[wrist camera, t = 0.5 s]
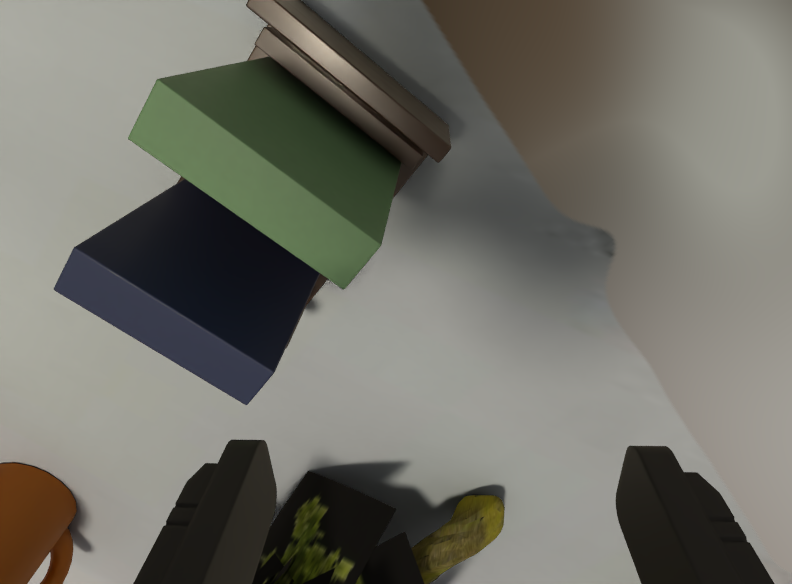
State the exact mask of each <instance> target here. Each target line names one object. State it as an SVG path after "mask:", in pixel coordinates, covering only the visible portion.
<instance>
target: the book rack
mask: <svg viewBox="0 0 792 584" xmlns="http://www.w3.org/2000/svg"><path fill="white" fill-rule="evenodd" d="M246 6H247V7H248V8H249V9H250V10H252V11H253V12H254V13H255V14H256V15H258V16H259V17H260V18H261V19H263V20H264V21H265V22H266V23H267V24H268V25H267V27H264V28H263V30H262V32H261V33H260V35H259V37H258V39H257V40H256V42H255V45H256V46H255V48H254V50H253V51H252V53H251V55H250V57H249V58H248V60H247V61H250V60H255V59H260V58H265V57H271V58H272V59H273V60H274V61H276V62H277V63H278V64H279V65H281V66H282V67H283V68H284V69H286V70H287V71H288V72H289V73H291V74H292V75H293V76H294V77H296V78H297V79H298V80H299V81H301V82H302V83H303V84H304V85H306V86H307V87H308V88H309V89H311V90H312V91H313V92H314V93H316V94H317V95H318V96H319V97H321V98H322V99H323V100H324V101H326V102H327V103H328V104H329V105H331V106H332V107H333V108H334V109H336V110H337V111H338V112H339V113H341V114H342V115H343V116H344V117H346V118H347V119H348V120H349V121H351V122H352V123H353V124H354V125H356V126H357V127H358V128H359V129H361V130H362V131H363V132H364V133H366V134H367V135H368V136H369V137H371V138H372V139H373V140H374V141H376V142H377V143H378V144H379V145H381V146H382V147H383V148H384V149H386V150H387V151H388V152H389V153H391V154H392V155H393V156H394V157H396V158H397V159H398V160H399V161H401V167H400V171H399V175H398V179H397V183H396V187H395V191H394V195H393V198H394V196H395V195H396V194H397V193H398V191H399V190H400V189H401V188H402V187H403V185H404V184H405V183H406V182H407V180H408V179H409V178H410V177H411V175H412V174H413V173H414V172H415V170H416V169H417V168H418V167H419V166H420V164H421V163H422V162H423V161H424V159H425V158H426V157H427V156H428V155H429V156H430V157H431V158H432V159H434V160H435V161H436V162H438V163H439V162H440V161H441V160H442V159H443V158H444V156H445V155H446V154H447V153H448V152H449V150H450V149H451V141H450V132H449V125H448V124H447V123H446V122H444V121H443V120H442V119H441V118H440V117H438V116H437V115H436V114H435V113H434V112H433V111H431V110H430V109H429V108H428V107H427V106H425V105H424V104H423V103H422V102H421V101H420V100H418V99H417V98H416V97H415V96H414V95H412V94H411V93H410V92H409V91H408V90H407V89H405V88H404V87H403V86H402V85H401V84H399V83H398V82H397V81H396V80H395V79H394V78H392V77H391V76H390V75H389V74H388V73H386V72H385V71H384V70H383V69H382V68H381V67H379V66H378V65H377V64H376V63H375V62H373V61H372V60H371V59H370V58H369V57H368V56H366V55H365V54H364V53H363V52H362V51H360V50H359V49H358V48H357V47H356V46H355V45H353V44H352V43H351V42H350V41H349V40H347V39H346V38H345V37H344V36H343V35H342V34H340V33H339V32H338V31H337V30H336V29H334V28H333V27H332V26H331V25H330V24H329V23H327V22H326V21H325V20H324V19H323V18H321V17H320V16H319V15H318V14H317V13H316V12H314V11H313V10H312V9H311V8H310V7H308V6H307V5H306V4H305V3H304V2H303V1H301V0H248V2H247V4H246ZM184 179H185V178H183V177H182V176H181V178H180V179H179V181H178V183H179V182H180V181H182V180H184ZM327 279H328V278H326V277H325V276H323V275H322V274H320V275H319V277H318V279H317V281H316V283H315V286H314V288H313V290H312V292H311V294H310V296H309V298H308V301H307V303H306V305H307V304H308V303H309V301H310V300H311V299H312V298H313V296H314V295H315V294H316V293H317V292H318V290H319V289H320V288H321V287H322V285H323V284H324V283H325V282H326V280H327ZM306 305H305V307H306ZM305 307H304V309H305ZM304 309H303V311H302V314H303V312H304ZM302 314H301V316H302ZM301 316H300V318H301ZM300 318H299V320H300ZM299 320H298V322H299ZM298 322H297V324H296V327H297V325H298ZM296 327H295V329H296ZM295 329H294V331H295ZM294 331H293V333H294ZM293 333H292V335H293ZM292 335H291V337H290V340H291V338H292ZM290 340H289V342H290ZM289 342H288V344H289ZM288 344H287V346H288ZM287 346H286V348H287ZM286 348H285V349H286Z"/></svg>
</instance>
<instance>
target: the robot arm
mask: <svg viewBox="0 0 792 584" xmlns="http://www.w3.org/2000/svg"><path fill="white" fill-rule="evenodd" d="M276 498H277V489H276V483H275V478H274V474H273V469H272V465H271V461H270V456H269V452H268V447H267V444H266V442H265V441H264V440H230V441H229V442H228V444H227V446H226V447H225V450H224V452H223V454H222V456H221V458H220V460H219V462H218V464H213V463H205V464H204V465H203V466H202V467H201V468H200V469H199V470H198V471H197V472H196V473H195V474H194V475H193V476H192V477H191V478H190V479H189V480H188V481H187V483H186V484H185V486H184V488H183V490H182V492H181V494H180V496H179V498H178V500H177V502H176V506H175V508H173V509H172V511H171V513H170V515H169V517H168V519H167V521H166V526H163V528H162V530H161V532H160V534H159V536H158V538H157V540H156V542H155V544H154V545H153V547H152V549H151V551H150V553H149V555H148V557H147V559H146V561H145V563H144V565H143V566H142V568H141V570H140V572H139V574H138V576H137V578H136V580H135V582H134V584H252V582H253V579H254V576H255V573H256V570H257V566H258V563H259V560H260V557H261V554H262V551H263V548H264V544H265V541H266V538H267V535H268V532H269V529H270V525H271V522H272V519H273V516H274V512H275V507H276ZM616 510H617V516H618V520H619V524H620V527H621V529H622V532H623V535H624V537H625V540H626V543H627V546H628V548H629V551H630V554H631V556H632V559H633V562H634V565H635V567H636V570H637V573H638V575H639V578H640V581H641V584H774V582H773V581H772V579H771V577H770V576H769V574H768V572H767V571H766V569H765V567H764V566H763V564H762V562H761V561H760V559H759V557H758V556H757V554H756V552H755V551H754V549H753V547H752V546H751V544H750V543H748V542H747V540H746V536H745V534H744V532H743V531H742V529H741V527H740V526H739V524H738V523H737V522H735V520H734V516H733V514H732V513H731V511H730V509H729V508H728V506H727V504H726V503H725V501H724V499H723V498H722V496H721V494H720V493H719V492H718V491H717V490H716V489H715V488H714V487H712V486H711V485H710V484H709V483H708V482H707V481H706V480H705V479H704V478H703V477H701V476H700V475H699V474H698V473H692V472H683V470H682V469H681V467H680V465H679V463H678V461H677V459H676V458H675V456H674V454H673V452H672V451H671V450H670V449H669V448H668V447H666V446H629V447H628V448H627V450H626V454H625V458H624V462H623V467H622V471H621V475H620V480H619V484H618V488H617V493H616Z"/></svg>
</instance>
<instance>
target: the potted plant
mask: <svg viewBox="0 0 792 584" xmlns="http://www.w3.org/2000/svg"><path fill="white" fill-rule="evenodd" d="M504 508H505V507H504V505H503V502H502V500H501V499H500V498H499V497H497V496H494V495H471V496H465V497H464V498H463V499H462V500H461V501H460V502H459V503H458V505H457V507H456V509H455V511H454V514H453V516H452V518H451V520H450V521H449V522H447V523H446V524H445V525H443V526H442V527H441V528H439V529H438V530H437V531H435V532H434V533H432V534H431V535H429V536H427V537H426V538H424V539H423V540H422V541H420V542H419V543H418V544H416V545H415V546H414V547H412V548H411V546H410V544H409V541H408V538H407V536H406V533H405V532H403V533H401V534H399V535H397V536H395V537H394V538H392V539H390V540H388V541H386V542H384V543H382V544H380V545H378V546H376V545H377V543H378V541H379V540H380V538H381V536H382V534H383V532H384V530H385V529H386V527H387V525H388V523H389V521H390V520H391V518H392V516H393V514H394V512H395V510H396V508H393V507H391V506H389V505H387V504H385V503H383V502H381V501H378V500H376V499H374V498H372V497H370V496H368V495H365V494H363V493H361V492H359V491H356V490H354V489H352V488H350V487H347V486H345V485H343V484H340V483H338V482H336V481H333V480H331V479H328V478H326V477H323V476H320V475H318V474H315V473H313V472H310V471H308V472H307V474H306V475H305V476H304V478H303V479H302V481H301V482H300V484H299V485H298V487H297V488H296V489H295V491H294V492H293V494H292V495H291V497H290V498H289V500H288V501H287V503H286V504H285V505H284V507H283V508H282V510H281V511H280V513H279V514H278V516H277V518H276V519H275V521H274V523H273V524H272V526H271V527H270V529H269V532H268V535H267V538H266V541H265V544H264V548H263V551H262V554H261V557H260V560H259V563H258V566H257V570H256V573H255V576H254V579H253V582H252V584H429V583H431V582H432V581H434V580H436V579H437V578H438V577H439V576H440V574H442V573H443V572H445V571H446V570H448V569H449V568H451V567H453V566H454V565H456V564H458V563H460V562H462V561H464V560H466V559H467V558H469V557H471V556H473V555H475V554H477V553H478V552H480V551H481V550H482V549H483V548H484V547H486V546H487V545H488V544H489V543H491V542H492V541H493V540H494V539H495V538H496V537H497V536H498V535H499V533H500V532H501V530H502V528H503V523H504Z"/></svg>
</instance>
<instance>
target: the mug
mask: <svg viewBox="0 0 792 584" xmlns="http://www.w3.org/2000/svg"><path fill="white" fill-rule="evenodd" d="M76 511H77V510H76V501H75V499H74V498H73V496H72V494H71V492H70V491H69V490H68V489H67V488H66V487H65V486H64V485H63V484H62V482H61V481H59V480H58V479H56V478H55V477H53V476H52V475H50V474H48V473H47V472H44V471H42V470H39V469H37V468H35V467H32V466H27V465H22V464H17V463H9V464H0V584H27V583H28V582H29V580H30V579H31V577H32V576H33V575H34V573H35V572H36V570H37V569H38V568H39V566H40V565H41V563H42V562H43V561H44V559H45V558H46V556H47V555H48V554H49V552H50V553H51V560H50V566H49V569H48V572H47V574H46V576H45V577H44V579H43V580H42V582H41V583H40V584H63V582H64V580H65V578H66V576H67V574H68V571H69V568H70V565H71V562H72V555H73V539H72V537H71V534H70V531H69V529H68V528H67V527H68V526H69V524H70V523H71V521H72V520H73V518H74V516H75V514H76Z"/></svg>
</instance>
